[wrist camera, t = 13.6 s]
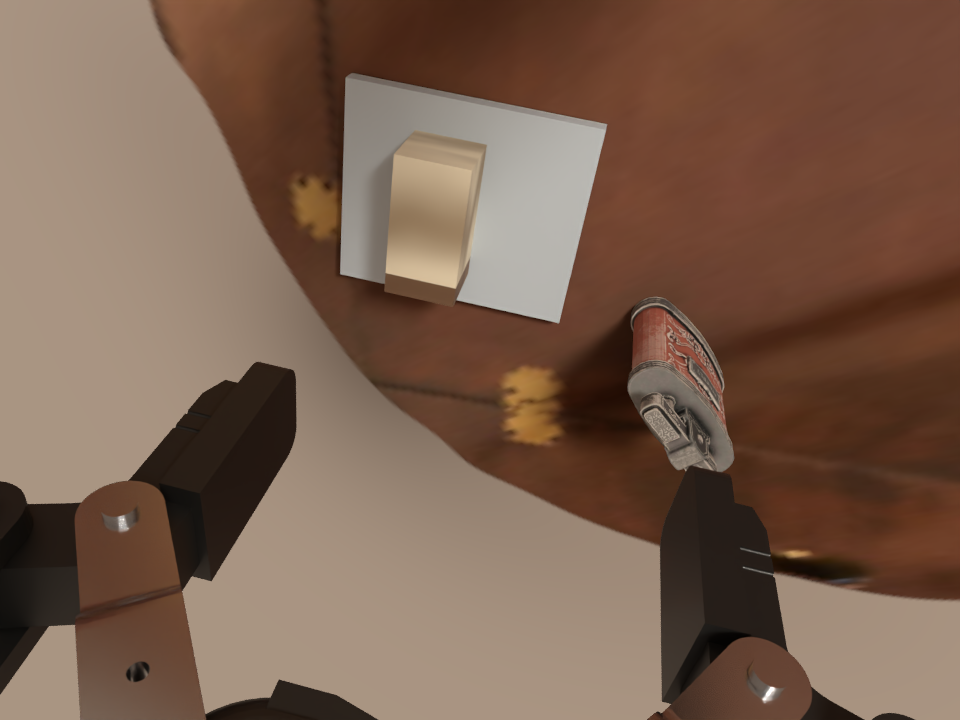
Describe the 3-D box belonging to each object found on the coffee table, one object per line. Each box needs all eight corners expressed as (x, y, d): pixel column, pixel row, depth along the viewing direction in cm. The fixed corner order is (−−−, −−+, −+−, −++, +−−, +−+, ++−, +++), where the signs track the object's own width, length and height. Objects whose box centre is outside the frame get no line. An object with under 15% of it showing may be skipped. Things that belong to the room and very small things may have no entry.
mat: (607, 124, 38) (605, 129, 37) (560, 314, 45) (559, 323, 44) (351, 72, 39) (345, 77, 38) (345, 266, 46) (340, 274, 45)
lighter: (735, 381, 45) (754, 494, 37) (687, 403, 47) (695, 516, 39) (666, 286, 42) (670, 386, 34) (618, 313, 44) (610, 414, 36)
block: (415, 129, 39) (393, 153, 36) (486, 144, 39) (471, 170, 36) (404, 259, 44) (384, 291, 41) (467, 273, 43) (453, 307, 40)
